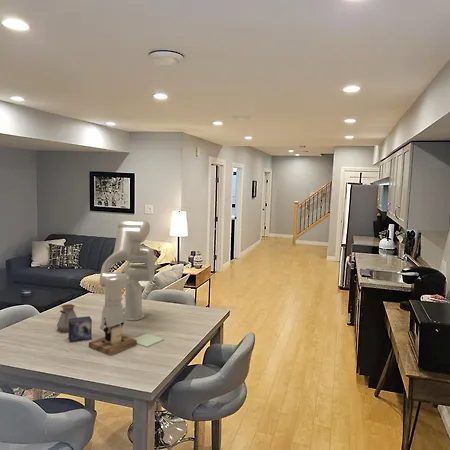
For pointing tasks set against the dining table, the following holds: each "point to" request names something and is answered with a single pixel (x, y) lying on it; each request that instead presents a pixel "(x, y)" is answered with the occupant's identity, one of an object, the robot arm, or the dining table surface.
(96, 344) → the cradle board
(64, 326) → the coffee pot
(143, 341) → the pad
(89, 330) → the small box
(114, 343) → the beech block
